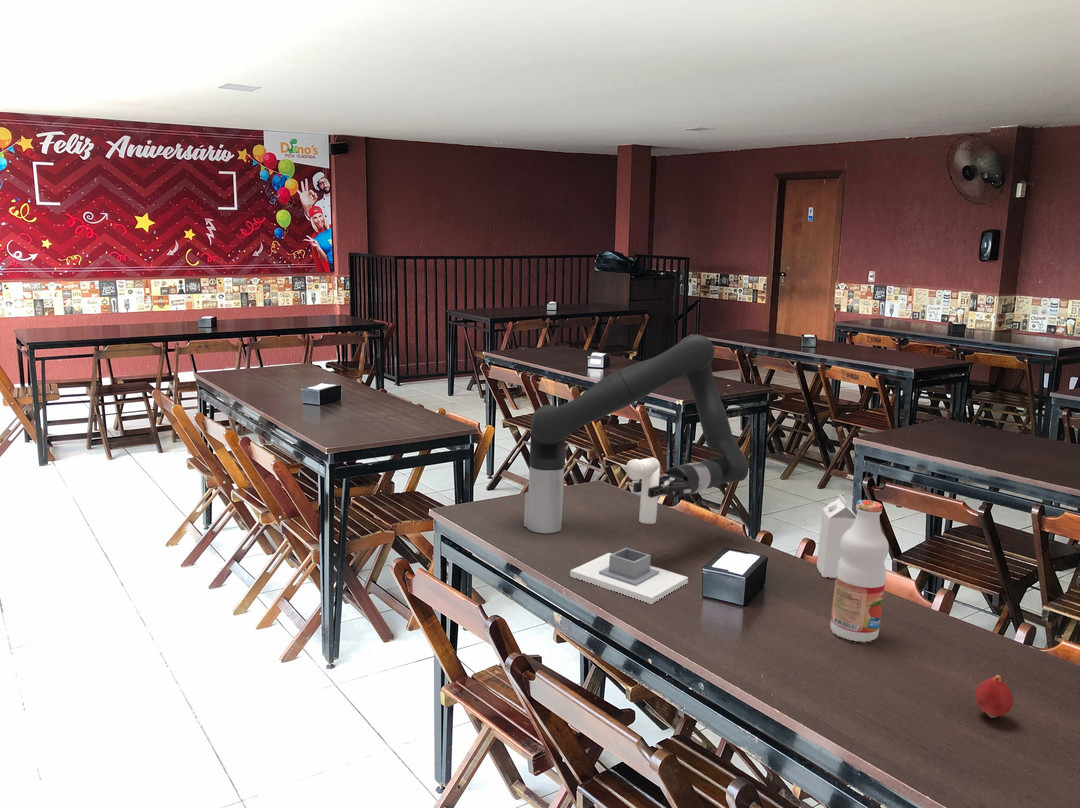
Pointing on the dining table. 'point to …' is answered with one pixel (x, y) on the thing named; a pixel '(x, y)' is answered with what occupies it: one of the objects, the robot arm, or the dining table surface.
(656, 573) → the duct
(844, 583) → the fruit juice
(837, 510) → the milk carton
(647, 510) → the elbow
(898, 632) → the dining table surface
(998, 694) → the onion
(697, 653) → the dining table surface
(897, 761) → the dining table surface
